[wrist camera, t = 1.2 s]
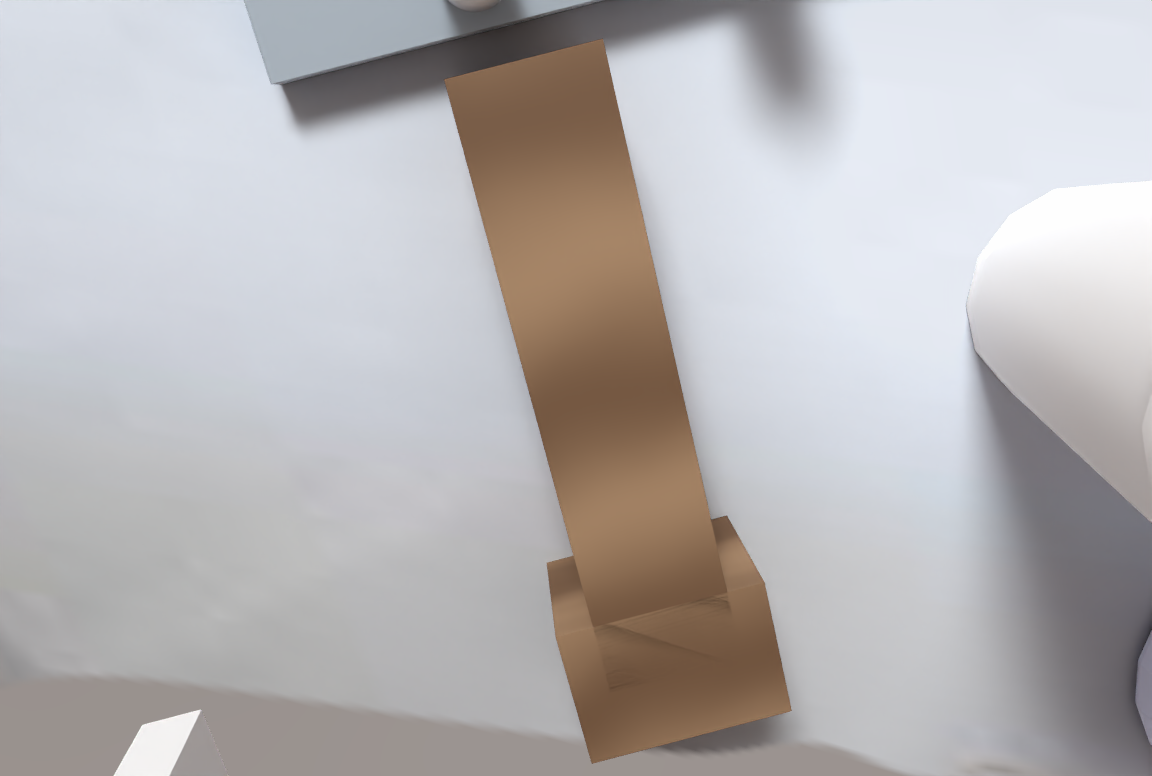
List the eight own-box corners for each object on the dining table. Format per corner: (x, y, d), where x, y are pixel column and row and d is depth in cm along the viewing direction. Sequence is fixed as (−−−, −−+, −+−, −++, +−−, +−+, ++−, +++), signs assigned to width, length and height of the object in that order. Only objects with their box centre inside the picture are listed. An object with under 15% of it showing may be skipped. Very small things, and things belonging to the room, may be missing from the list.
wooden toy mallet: (414, 91, 26) (399, 90, 22) (621, 38, 26) (646, 27, 22) (578, 674, 32) (591, 763, 27) (751, 629, 32) (791, 711, 27)
